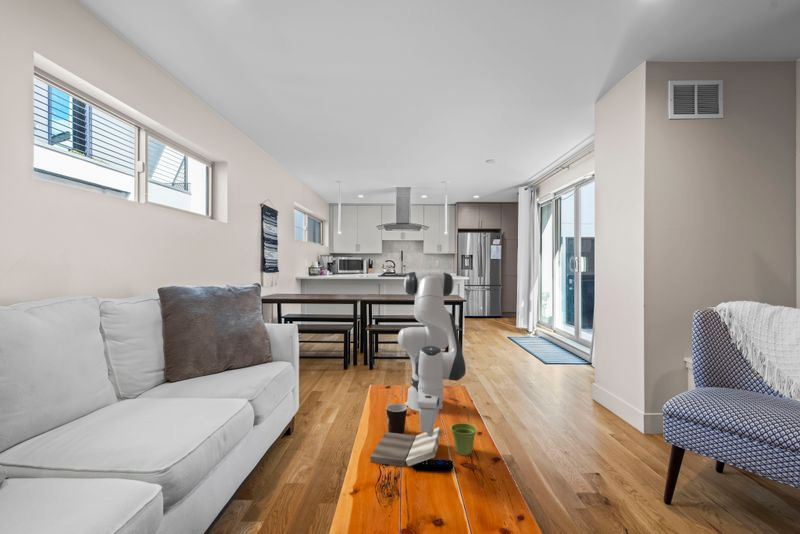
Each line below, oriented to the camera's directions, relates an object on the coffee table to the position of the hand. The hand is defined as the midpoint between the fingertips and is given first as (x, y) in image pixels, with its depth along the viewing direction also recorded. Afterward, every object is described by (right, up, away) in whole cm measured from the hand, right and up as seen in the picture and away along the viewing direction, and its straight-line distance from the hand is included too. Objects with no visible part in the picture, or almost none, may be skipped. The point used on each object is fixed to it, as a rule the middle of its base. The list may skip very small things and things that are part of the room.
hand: (430, 435), depth 127 cm
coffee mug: (-12, -10, +25) cm, 29 cm away
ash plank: (-1, -7, +5) cm, 9 cm away
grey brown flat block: (-13, -9, +8) cm, 18 cm away
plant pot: (+13, -10, +8) cm, 18 cm away
